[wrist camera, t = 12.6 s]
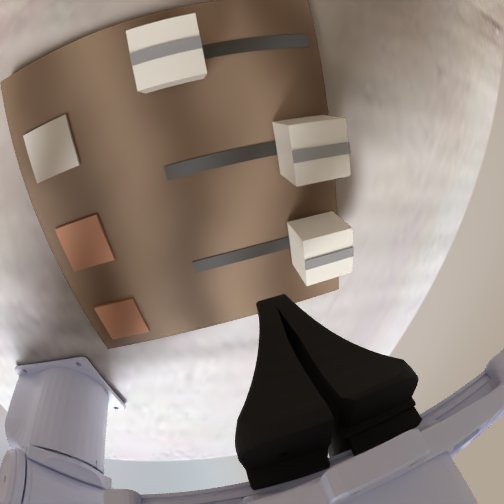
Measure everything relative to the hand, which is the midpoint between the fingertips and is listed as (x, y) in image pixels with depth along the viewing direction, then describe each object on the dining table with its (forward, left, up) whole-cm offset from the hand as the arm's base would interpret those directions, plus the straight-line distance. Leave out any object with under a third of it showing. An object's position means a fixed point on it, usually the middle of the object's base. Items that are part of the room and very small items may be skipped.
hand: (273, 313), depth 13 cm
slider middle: (+4, +6, -6) cm, 9 cm away
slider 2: (+4, 0, -6) cm, 7 cm away
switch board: (-3, +5, -7) cm, 9 cm away
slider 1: (-2, +12, -6) cm, 13 cm away
